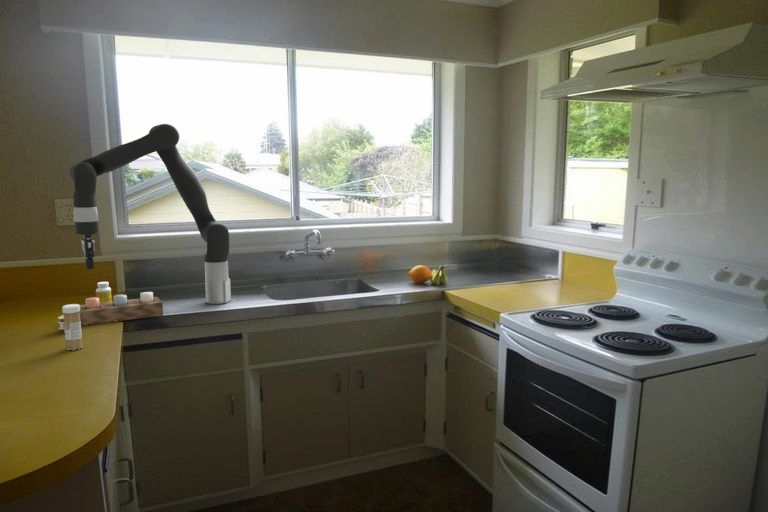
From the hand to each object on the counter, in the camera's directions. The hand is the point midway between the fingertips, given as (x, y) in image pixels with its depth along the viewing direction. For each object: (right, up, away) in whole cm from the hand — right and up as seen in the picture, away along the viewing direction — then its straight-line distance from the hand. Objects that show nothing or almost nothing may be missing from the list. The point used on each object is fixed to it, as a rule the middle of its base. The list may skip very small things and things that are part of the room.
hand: (89, 268), depth 185 cm
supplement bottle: (-7, -16, +23) cm, 29 cm away
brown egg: (0, -16, +2) cm, 16 cm away
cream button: (+15, -15, +12) cm, 24 cm away
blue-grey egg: (+7, -15, +7) cm, 19 cm away
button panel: (+7, -18, +8) cm, 21 cm away
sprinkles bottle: (+11, -24, -28) cm, 38 cm away
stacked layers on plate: (-1, -21, -10) cm, 24 cm away
